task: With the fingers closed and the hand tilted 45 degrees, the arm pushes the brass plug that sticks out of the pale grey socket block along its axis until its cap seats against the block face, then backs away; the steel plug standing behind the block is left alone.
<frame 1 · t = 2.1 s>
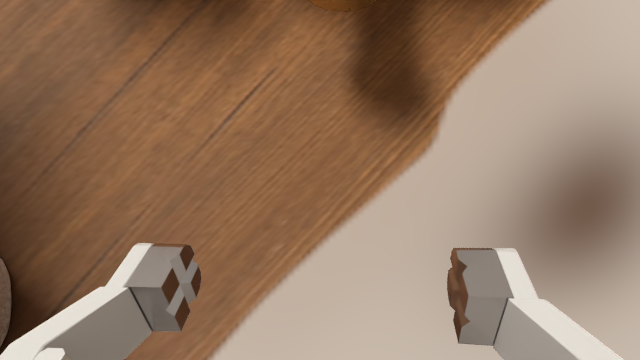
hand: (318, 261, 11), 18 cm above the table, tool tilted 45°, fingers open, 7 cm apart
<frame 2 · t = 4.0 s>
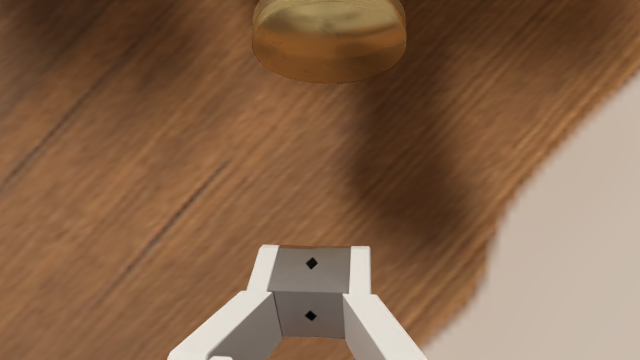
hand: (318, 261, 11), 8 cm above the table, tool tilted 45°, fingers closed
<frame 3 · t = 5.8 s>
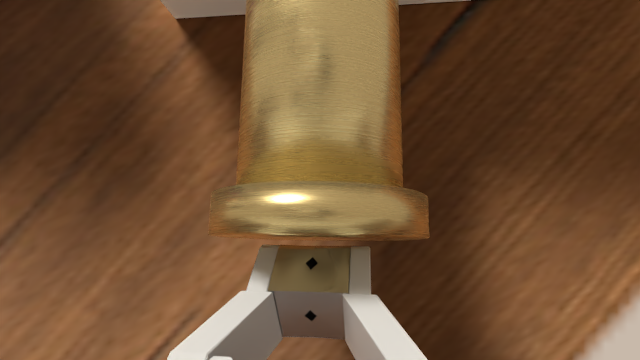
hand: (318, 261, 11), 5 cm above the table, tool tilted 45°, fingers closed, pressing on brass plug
brass plug: (322, 13, 11), point 6 cm above the table, slide at 0.2 cm, touching gripper
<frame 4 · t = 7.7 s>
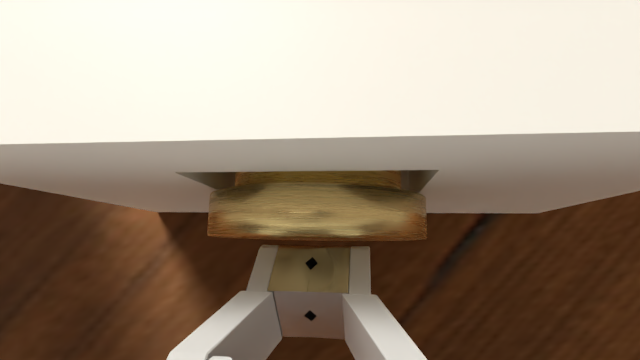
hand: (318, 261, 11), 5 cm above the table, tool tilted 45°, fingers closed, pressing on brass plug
socket block: (336, 100, 17), on the table
brass plug: (320, 14, 11), point 6 cm above the table, slide at 9.8 cm, touching gripper
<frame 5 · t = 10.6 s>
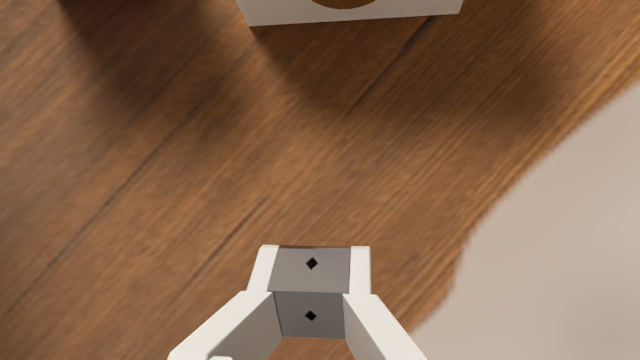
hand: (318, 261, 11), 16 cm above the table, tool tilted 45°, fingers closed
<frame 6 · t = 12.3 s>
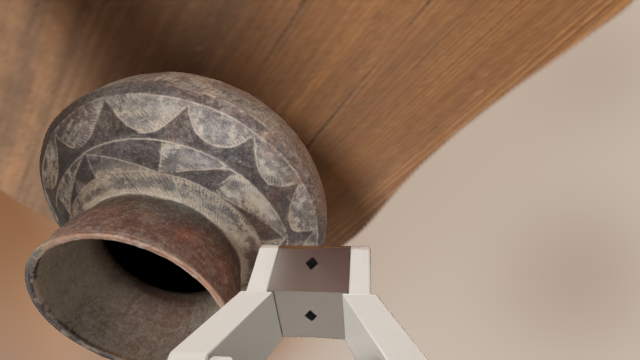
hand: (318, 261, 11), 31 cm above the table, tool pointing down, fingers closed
ceramic pot: (231, 141, 45), on the table
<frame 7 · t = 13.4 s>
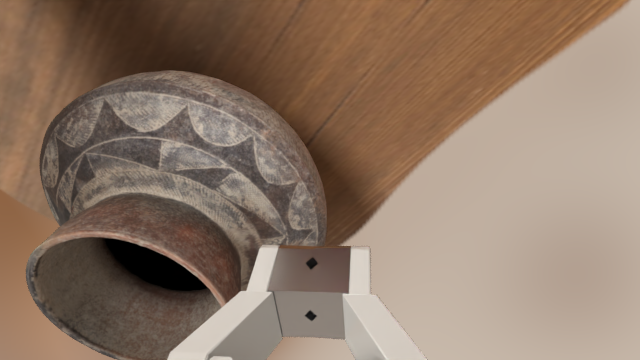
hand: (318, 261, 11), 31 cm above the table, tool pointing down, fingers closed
ceramic pot: (230, 140, 45), on the table
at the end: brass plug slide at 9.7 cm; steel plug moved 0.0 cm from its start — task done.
